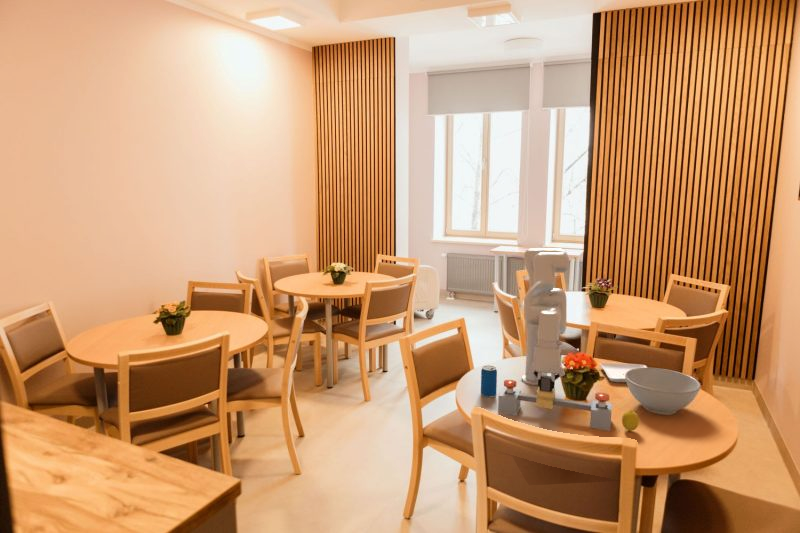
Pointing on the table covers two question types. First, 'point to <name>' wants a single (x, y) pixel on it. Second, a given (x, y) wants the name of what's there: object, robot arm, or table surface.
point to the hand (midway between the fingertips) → (546, 388)
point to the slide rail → (597, 418)
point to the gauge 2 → (602, 399)
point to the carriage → (545, 394)
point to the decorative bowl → (662, 389)
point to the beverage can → (488, 381)
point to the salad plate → (618, 370)
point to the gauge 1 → (510, 386)
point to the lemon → (630, 420)
